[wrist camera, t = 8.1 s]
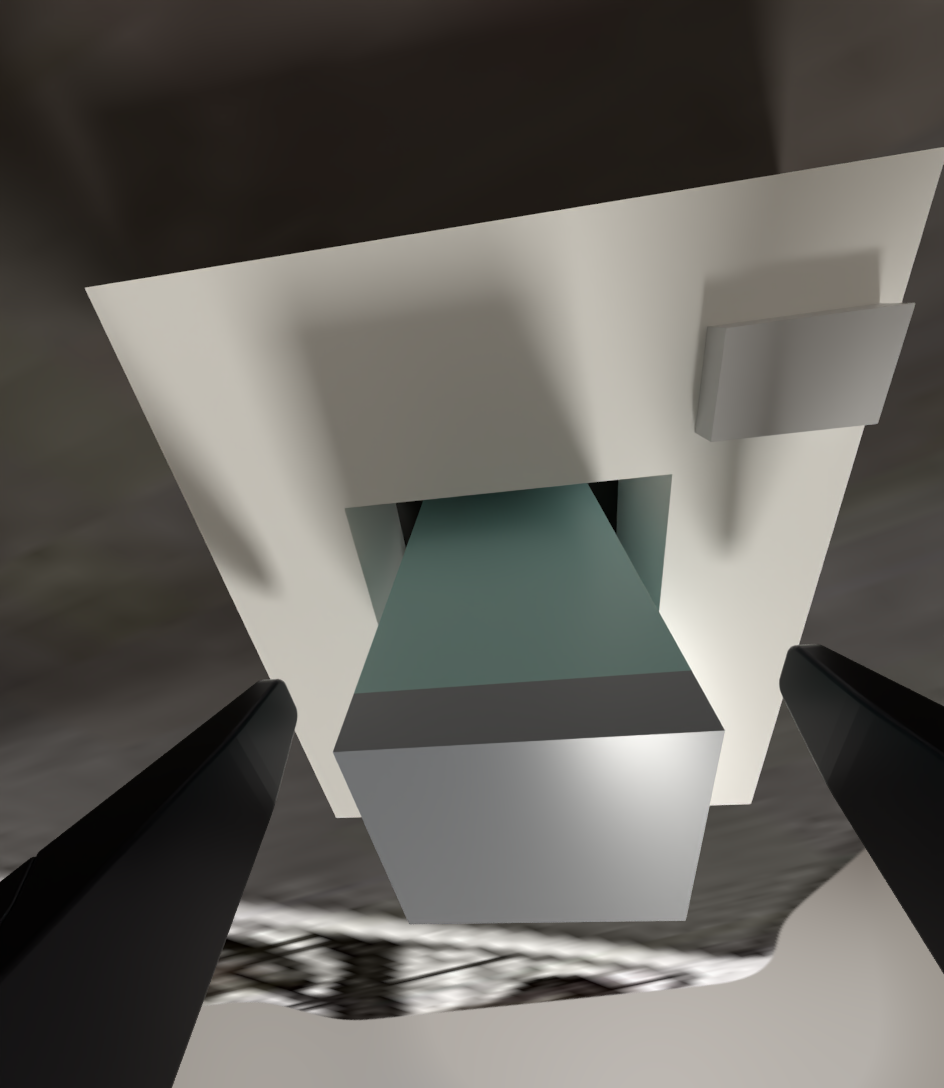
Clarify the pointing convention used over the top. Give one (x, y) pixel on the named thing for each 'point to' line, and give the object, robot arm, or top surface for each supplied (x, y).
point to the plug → (529, 723)
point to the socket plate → (540, 411)
